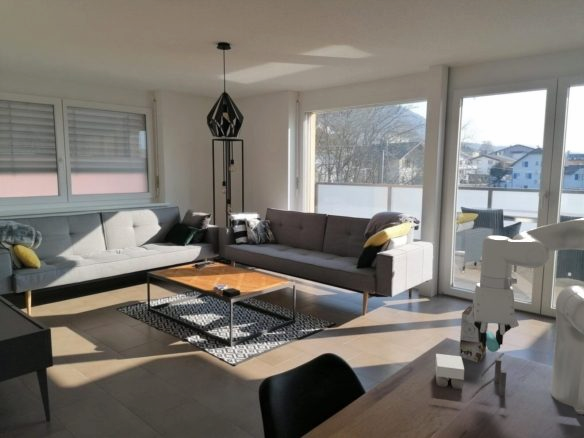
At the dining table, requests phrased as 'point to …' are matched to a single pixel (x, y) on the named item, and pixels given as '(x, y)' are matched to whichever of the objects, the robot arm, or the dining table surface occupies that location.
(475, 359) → the coffee box
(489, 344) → the roller
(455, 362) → the slab
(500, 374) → the roller bed
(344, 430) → the dining table surface
